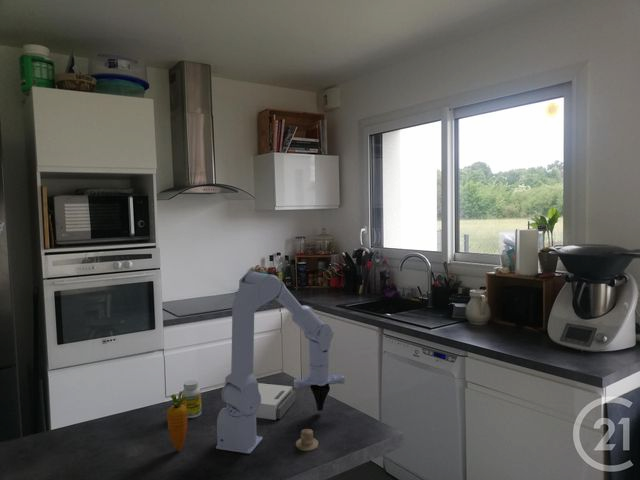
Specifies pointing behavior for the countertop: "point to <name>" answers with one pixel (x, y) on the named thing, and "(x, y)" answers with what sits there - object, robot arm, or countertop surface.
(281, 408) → the tray
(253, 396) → the robot arm
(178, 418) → the carrot
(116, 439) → the countertop surface
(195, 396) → the supplement bottle
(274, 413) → the player
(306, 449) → the stand
